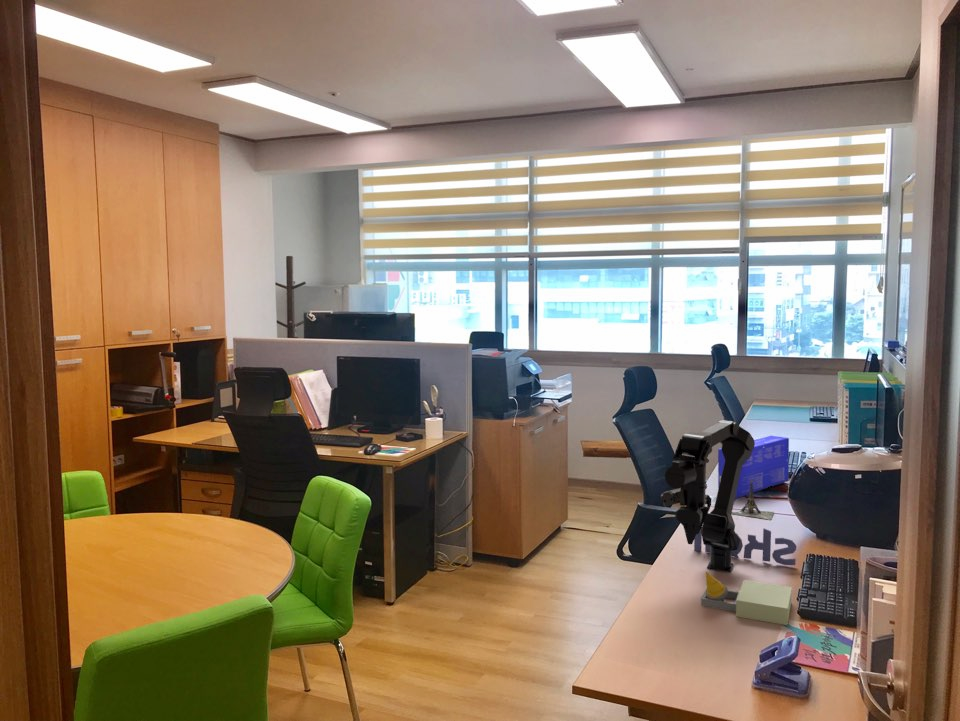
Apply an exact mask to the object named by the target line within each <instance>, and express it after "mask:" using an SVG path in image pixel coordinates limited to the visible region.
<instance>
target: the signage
mask: <svg viewBox="0 0 960 721" xmlns="http://www.w3.org/2000/svg"><path fill="white" fill-rule="evenodd" d="M701 529H702V527H701ZM735 533H736V532H735ZM736 535H737V536H738V538H739V540H740V542H739V547H738V550H733V551H731V557H734V558H735V559H740V557H739V554H741V552H742V549H743V559H749V560H750V559H752V551H753V550H759V551H762V562H771V556H772V559H773V560H774V561H775V562H776V563H777V564H780V565H784V566H796V558H783V557H781V556H786V555H791V554H794V553H795V552H796V550H797V544H796V543H795V542H794V541H793V540H792V539H789V538H784V537H775V538H774V544H775V545H785V546H786V547H782V548H777V549H774V550H773V551H772V553H771V548H772V547H771V545H772V542H771V541H772V531H771V530H769V529H766V528H763V533H762V541H761V542H760V541H758V540H757V535H755V534H747V541H748V543H747V544H745V545H743V539H742V538H741V537H740V536H739V534H738V533H736ZM702 543H703V539H702V534H701V530H700V532H699V534H696V536H695V539H694V541H693V551H696V552H700V553H701V552H702V545H703V544H702ZM704 546H705V548H704V549H705V551H704V552H705V553H709V554H710V546H709V545H704ZM771 554H772V555H771Z"/></svg>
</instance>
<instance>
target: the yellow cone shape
mask: <svg viewBox="0 0 960 721" xmlns="http://www.w3.org/2000/svg"><path fill="white" fill-rule="evenodd" d="M705 586H706V588H707V589H706V588H705V590H706V596H707V597H708V599H713V600H720V601H725V598H726V597H725V596H726V595H727V593H728V590H729V589H728V587H727V585H726V584H725V583H724V582H720V581H719V580H718V579H716V577H714V576H713V575H711V574H710V573H708V571H705Z"/></svg>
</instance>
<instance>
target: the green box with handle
mask: <svg viewBox="0 0 960 721" xmlns="http://www.w3.org/2000/svg"><path fill="white" fill-rule="evenodd" d="M706 589H707V587H706V588H705V589H704V590H705V591H704V592H703V595H702V596H701V599H700V605H701V606H703V607H708V608H713V609H719V610H725V611H729V612H735V617H738V618H742V619H743V618H745V619H750V620H754V621H755V620H757V621H761V622H766V623H773V624H779V625H784V626H788V624H789V618H790V612H791V607H792V601H793V600H792V598H793V597H792V596H793V595H792V594H793V593H792V592H793V587H791V586H785V585H780V584H772V583H766V582H759V581H753V580H746V579H743V582H742V584H741V585H740V590H738V591H737V590H732V589H731V590H730V589H728V593H727V595H726V596H725V597H724V598H727V599H733V600H735V601H734V602H731V601H727V600H726V601H725V600H724V601H720V600H713V599H708V597H707V596H706Z"/></svg>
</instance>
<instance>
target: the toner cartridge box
mask: <svg viewBox="0 0 960 721" xmlns="http://www.w3.org/2000/svg"><path fill="white" fill-rule="evenodd" d="M754 441H755V446H754V449H753V450H752V453H751V456H750V458H749V459H748V460H747V461H746V462H745V463H744V464H743V465H742V469H741V473H740V478H739V482H738V487H737V491H736V496H735V499H739V498H741V497H745V496H747V495H748V496H749V494H750V485H751V479H752V480H753V482H752V485H753V494H754V493H757V492H759V491H760V492H761V491H763V490H767V489H769V488H771V487H770V486H772V487H774V486H777V485H780V484H783V483H786V482H789V477H790V476H789V475H790V474H789V471H790V470H789V463H790V461H789V460H790V459H789V456H790V453H789V452H790V450H789V449H790V438H789V437H784V436H778V435H777V436H776V435H775V436H774V435H767V436H763V437H760V438H755V439H754ZM721 449H722V447H720V448H718V449H717V450H718V451H717V457H718V458H717V464H718V465H717V466H718V468H717V472H718V475H717V476H718V477H717V479H718V481H717V482H718V484H717V485H718V488H717V490H718V489H719V484H720V480H721V476H722V471H723V467H724V462H725V459H724V456H723V453H722V450H721ZM768 487H769V488H768Z"/></svg>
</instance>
